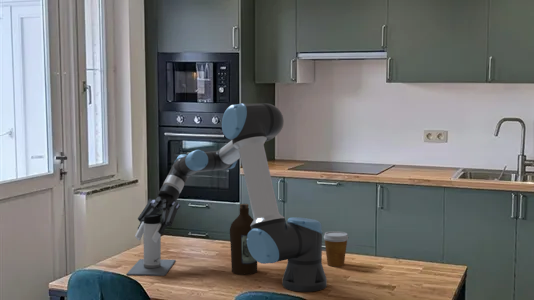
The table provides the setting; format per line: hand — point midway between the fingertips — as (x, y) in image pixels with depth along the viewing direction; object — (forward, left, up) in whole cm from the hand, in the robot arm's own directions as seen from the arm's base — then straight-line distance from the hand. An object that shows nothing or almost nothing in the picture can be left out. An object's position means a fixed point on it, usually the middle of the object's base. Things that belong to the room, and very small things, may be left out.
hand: (145, 239), depth 244 cm
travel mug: (+3, -2, -11) cm, 12 cm away
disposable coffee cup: (+11, -70, -12) cm, 72 cm away
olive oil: (0, -36, -12) cm, 38 cm away
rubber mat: (+3, -1, -12) cm, 12 cm away
